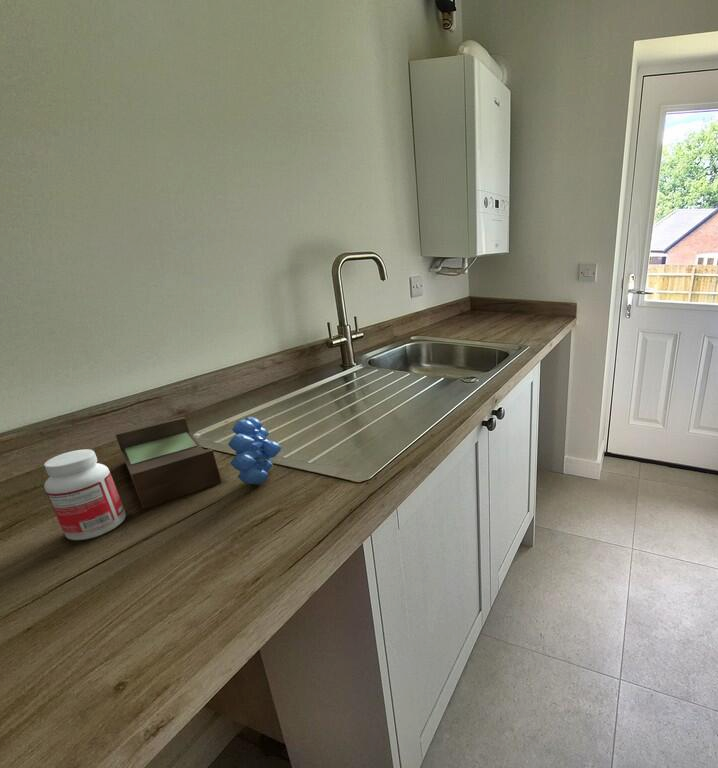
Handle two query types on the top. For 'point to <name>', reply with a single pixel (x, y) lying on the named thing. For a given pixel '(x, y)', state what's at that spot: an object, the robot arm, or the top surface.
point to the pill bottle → (83, 495)
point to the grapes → (252, 450)
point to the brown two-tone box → (166, 461)
